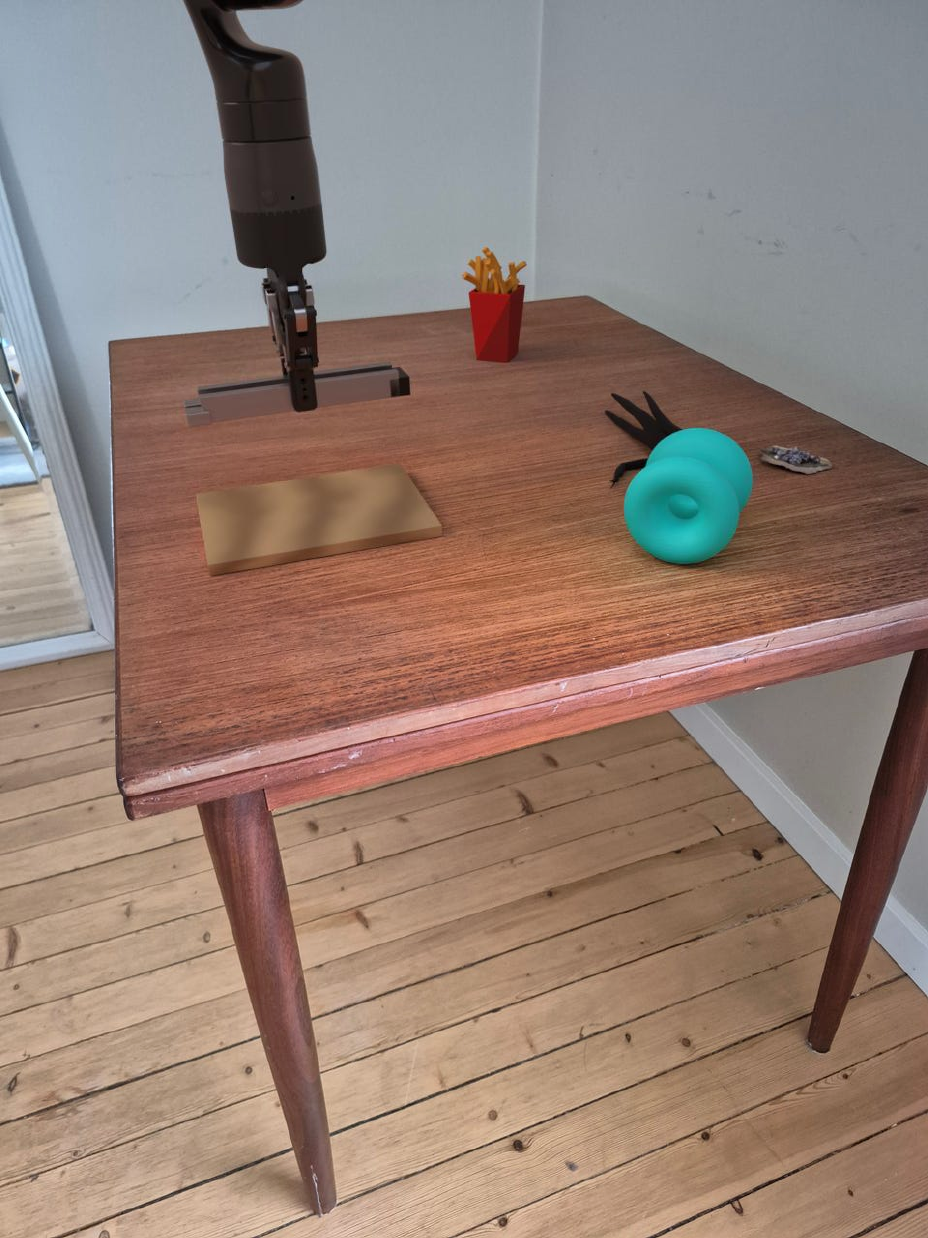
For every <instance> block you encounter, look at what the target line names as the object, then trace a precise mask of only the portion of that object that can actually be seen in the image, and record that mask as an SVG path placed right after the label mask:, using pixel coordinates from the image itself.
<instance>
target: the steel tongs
mask: <svg viewBox="0 0 928 1238" xmlns="http://www.w3.org/2000/svg"><path fill="white" fill-rule="evenodd" d="M314 379H315V387H316V395H317V404H318V406H317V408H316V409H320V408H321V409H322V408H328V407H335V406H342V405H343V406H344V405H350V404H357V403H364V402H365V403H366V402H372V401H377V400H378V401H379V400H385V399H386V400H387V399H394V398H399V397H405V396H410V395H411V380H410V376H409V374H407V373H406V371H405V370H404V369H403V368H402V367H401V366H394V367H393V364H392V362H390V361H385V362H377V363H369V364H361V365H352V366H346V367H337V368H330V369H322V370H314ZM196 389H197V390H196V391H197V395H198V397H196V398H187V399H183V406H184V411H185V415H186V419H187V424H188V425H187V426H188V427H189V428H198V427H203V426H204V427H205V426H210V425H213V423H221V422H228V421H236V420H242V419H251V418H256V417H264V416H271V415H279V414H286V413H292V412H293V413H294V412H296V411H295V410H294V408H293V406H292V400H291V392H290V385H289V378H288V375H283V374H282V375H275V376H268V377H260V378H252V379H247V380H246V379H244V380H236V381H229V382H221V383H214V384H213V383H212V384H206V385H198V386H196Z"/></svg>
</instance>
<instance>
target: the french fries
mask: <svg viewBox="0 0 928 1238" xmlns="http://www.w3.org/2000/svg"><path fill="white" fill-rule="evenodd" d="M481 252H482V253H483V255H484V256H485V257H483V258H482V256H481V255H475V261H474V260H473V259H472V258H471V259H470V260H469V261H468V262H467V265H468V266H469V267H470V268H472V270H473V271H474V275H473V274H471V273H469V272H467V271H464V272H463V274H462V275H461V277H462V280H464V281H467V282H469V284H470V283H471V284H472V285H474V287H475V288H473V289H471V290H470V291H468V300H469V301H468V302H469V309H470V317H471V326H472V333H473V342H474V350H475V358H476V361H483V362H496V363H503V364H504V363H505V364H507V363H509V362H510V361H511V360H513V359H514V358H515V357H516V356H517V355H518V354H519V347H520V339H521V328H522V319H523V308H524V299H525V290H526V284H519V283H521V281H520V279H519V278H518V275H517V274H518V273H519V272H520V271H521V270H522V269H524V268H526V266H528V264H527V262H526V261H524V260H522V261H521V262H520V263H519V264H517V265H516V262H508V271H509V274H508V275H507V278H506V279H505V280H504V279H503V273H502V267H503V266H502V265H500V263H499V261H498V259H497V257H496V255H495V254H494V252H493V251H491V250H490V248H489V247H487V246H486V247H484V248H483V249H482V250H481ZM489 276H490V277H489Z"/></svg>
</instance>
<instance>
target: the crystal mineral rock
mask: <svg viewBox="0 0 928 1238" xmlns="http://www.w3.org/2000/svg"><path fill="white" fill-rule="evenodd" d="M759 450H760V451H759V452H758V453H759V454H761V455H762V456H760V457H759V459H760V460H761V461H762V462H767V463H768V464H772V465H778V466H783V467H785V469H789V470H790V471H794V472H796V473H797V472H801V473H804V474H806V475H810V474H814V473H815V474H816V473H818V472H820V471H822V472H823V471H825V470H830V469H833V468H834V464H832V462H831V461H830V460H828V459H827V458H825V457H821V456H817V455H814V454H812V455H811V453H810V452H809V451H807V450H803V451H802V450H800V448H799V447H797V446H795V447H791V446H786V445H781V444H779V445H776V444H775V445H770V446H767V447H762V448H761V447H760V448H759Z"/></svg>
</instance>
